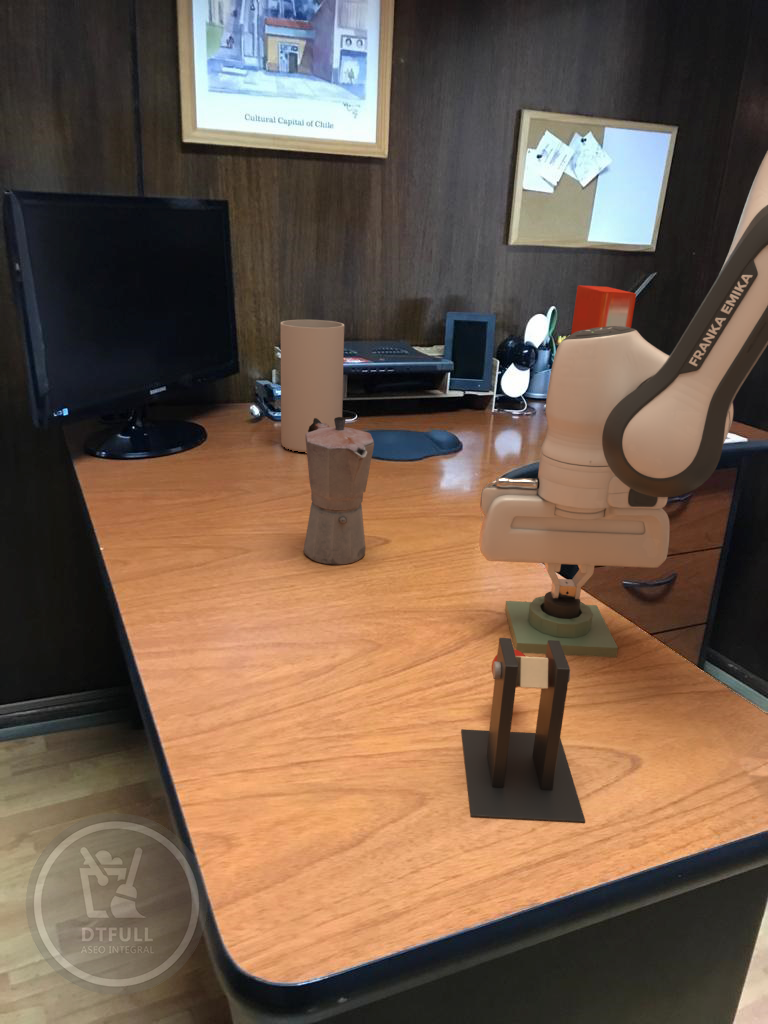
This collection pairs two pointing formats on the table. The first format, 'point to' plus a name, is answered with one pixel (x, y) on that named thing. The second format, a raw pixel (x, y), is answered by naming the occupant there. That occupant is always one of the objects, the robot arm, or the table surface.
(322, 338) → the cylinder vase
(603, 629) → the block
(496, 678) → the switch base
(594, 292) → the file binder
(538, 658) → the lever
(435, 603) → the table surface
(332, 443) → the moka pot
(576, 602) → the button
